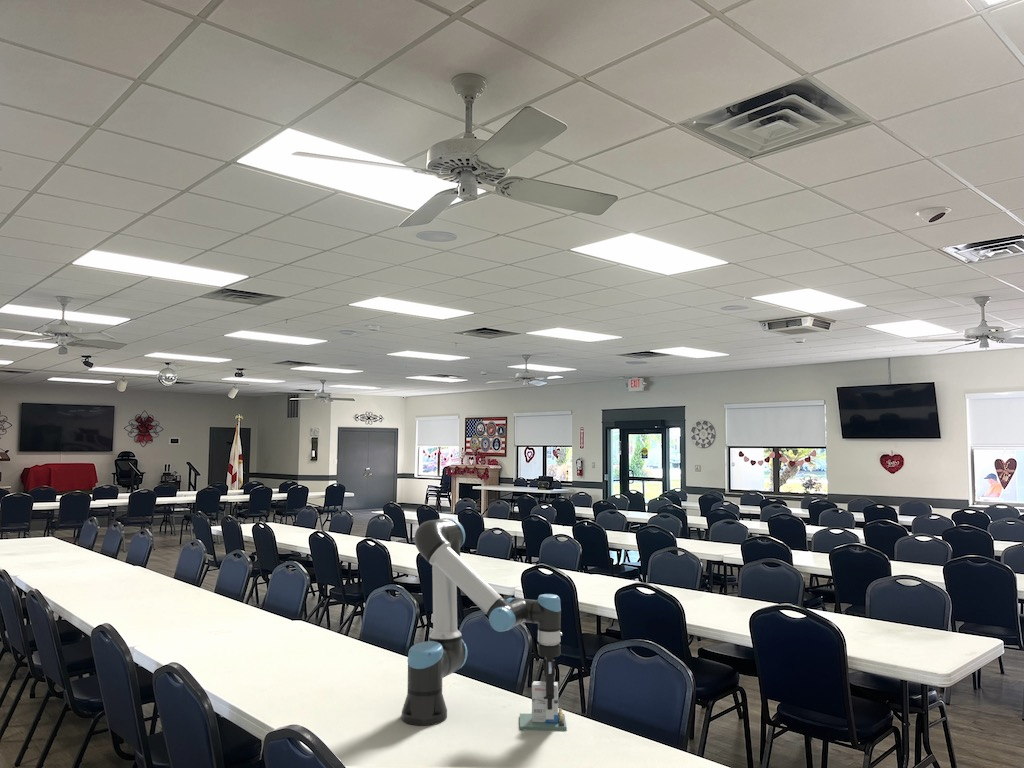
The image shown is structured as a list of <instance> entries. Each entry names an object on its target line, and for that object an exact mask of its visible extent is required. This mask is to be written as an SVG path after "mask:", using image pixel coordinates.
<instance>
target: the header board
mask: <svg viewBox="0 0 1024 768" xmlns="http://www.w3.org/2000/svg"><path fill="white" fill-rule="evenodd" d="M567 728H568V727H567V721H566V716H565V713H563V708H560V707H558V723H546V722H532V713H519V730H520V731H522V730H523V731H535V730H536V731H567Z"/></svg>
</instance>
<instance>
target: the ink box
mask: <svg viewBox="0 0 1024 768" xmlns="http://www.w3.org/2000/svg"><path fill="white" fill-rule="evenodd" d="M544 697H546V682H545V681H536V680H533V682H532V683H531V714H532V722H546V723H558V712H559V681H554V719H545V699H544Z"/></svg>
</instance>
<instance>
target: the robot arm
mask: <svg viewBox="0 0 1024 768" xmlns="http://www.w3.org/2000/svg"><path fill="white" fill-rule="evenodd" d="M413 539H414V544H415V547H416V549H417V551H418V552H419V554H420V555H421V556H422V557H423V558H424V559H425V561H426V562H427V563H429V564H430V566H432V568H431V570H432V571H431V573H432V631H431V632H430V634H429V636H428V640H427V641H423V642H422V641H421V642H418V643H417V642H416V643H415V644H413V645H412V646H411V647H410V648H409V650H408V655H407V692H406V693H407V694H406V698H405V700H404V704H403V707H402V709H401V720H402V722H404V723H405V724H409V725H413V726H431V725H435V724H436V725H437V724H440V723H442V722H444V721H445V720H446V719H447V717H448V708H447V705H446V702H445V699H444V698H445V697H444V694H443V678H445V677H447V676H449V675H452V674H454V673H456V672H458V670H460V669H461V668H463V666H465V663H466V661H467V658H468V647H467V645H466V642H464V640H463V635H462V632H461V631H460V630H459V629H458V601H457V600H458V598H457V597H458V594H457V593H458V591H457V590H458V589H457V587H458V588H459V590H460V591H462V592H463V593H464V595H466V596H467V597H468V598H469V599H470V601H472V602H473V603H474V604H475V605H476V606H477V607H479V609H480V610H482V612H483V613H484V614H485V615H487V617H488V618H489V619H488V620H489V621H488V622H489V624H490V627H491V628H492V629H493V630H494V631H496V632H499V633H502V632H506V631H510V630H512V629H514V628H515V627H517V626H519V625H521V624H523V623H531V624H537V642H538V643H537V654H538V656H539V657H542V658H544V659H543V661H542V664H543V675H544V682H546V697H544V699H545V719H554V682H555V676H556V666H557V665H556V659H554V658H558V657H560V655H562V654H561V653H562V652H561V644H560V643H561V636H563V632H561V629H562V627H561V618H562V616H561V614H562V608H561V607H562V606H561V598H560V596H559V595H557V594H553V593H544V594H539V595H538V598H537V599H528V598H520V597H509V598H507V599H506V600H505V598H503V597H502V596H501V595H500V594H499V592H498V591H496V590H495V589H494V588H493V587H492V586H491V585H490V584H489V583H488V582H487V581H486V580H485V579H484V578H483V577H482V576H481V575H479V573H477V572H476V570H475V569H474V568H472V566H470V565H469V564H468V563H467V562H466V561H465V560H464V559H463V558H462V557H461V548H462V546H463V545H464V544H465V540H466V532H465V529H464V526H463V525H462V523H460V522H459V521H458V520H456V519H454V518H448V517H447V518H438V519H431V520H430V519H429V520H427V521H423V522H422V523H421V524H420V525H419V526H418V527H417V529H416V531H415V534H414V538H413Z"/></svg>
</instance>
